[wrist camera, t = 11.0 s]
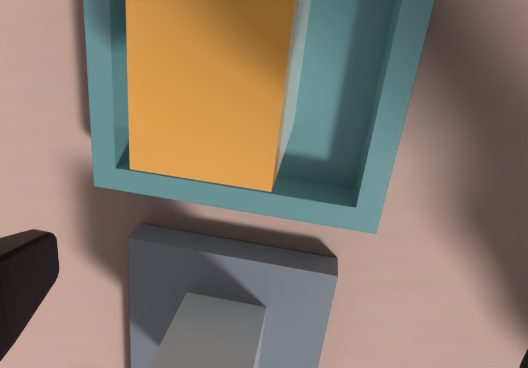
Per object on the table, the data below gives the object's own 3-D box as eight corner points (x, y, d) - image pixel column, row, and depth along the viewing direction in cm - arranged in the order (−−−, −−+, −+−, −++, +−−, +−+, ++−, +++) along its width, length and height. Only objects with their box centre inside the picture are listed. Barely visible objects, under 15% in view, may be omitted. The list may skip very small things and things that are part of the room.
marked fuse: (311, -7, 16) (296, -11, 9) (293, 123, 18) (271, 191, 12) (207, -18, 16) (125, -31, 10) (201, 110, 18) (129, 168, 12)
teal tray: (445, -105, 15) (466, -125, 12) (371, 206, 19) (376, 234, 17) (111, -137, 16) (73, -160, 13) (120, 165, 21) (93, 186, 18)
